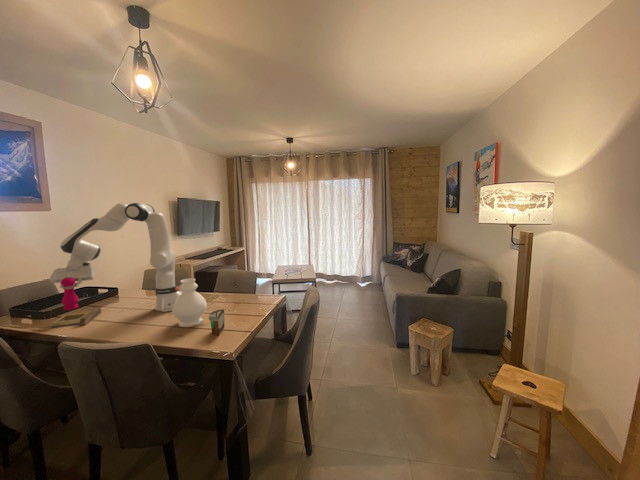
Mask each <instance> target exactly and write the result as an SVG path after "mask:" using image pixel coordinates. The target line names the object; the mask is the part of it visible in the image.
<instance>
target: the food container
mask: <svg viewBox="0 0 640 480" xmlns="http://www.w3.org/2000/svg"><path fill="white" fill-rule="evenodd" d="M208 320H209V323H210V326H211V333H212V335H214V336H220V335H221V333H222V332H223V331H224V329H225V309H224V308H222V309H216V310H213V311H212V312H210V313H209V314H208Z"/></svg>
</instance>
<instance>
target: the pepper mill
mask: <svg viewBox="0 0 640 480" xmlns="http://www.w3.org/2000/svg"><path fill="white" fill-rule="evenodd" d="M65 277H66V278H64V279H63V280H62V281H61V284H60V285H63V288H62V290H64V293H63V297H62V299H61V304H62V305H63V310H64V311H70V310H74V309H77V308H79V304H78V302H79V300H80V299H79V296H78V295H77V294H76V292H75V286H74V285H75V283H76V281H75V279H74V278H71V277H70V276H69V275H66V276H65Z"/></svg>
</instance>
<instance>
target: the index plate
mask: <svg viewBox="0 0 640 480" xmlns="http://www.w3.org/2000/svg"><path fill="white" fill-rule="evenodd" d="M89 312H90V311H88V312H82V313H81V312H80V313H79V312H78V313H72V314H65V315H63V316H61V317H60V318H57V319H56V320H55V321H53V322H52V323H51V324H52V325H51V328H58V327H64V326H74V325H80V318H82V317H83V316H85V315H86V314H87V313H89Z"/></svg>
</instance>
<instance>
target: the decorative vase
mask: <svg viewBox="0 0 640 480" xmlns="http://www.w3.org/2000/svg"><path fill="white" fill-rule="evenodd" d="M195 281H196V278H193V277H192V278H184V279H181V280H180V283H181V284H180V285H179V291H181V292H183V293H182V294H181V295H180V296H179V297H178V298H177V299H176V301H175V302H174V304H173V306H172V311H171V312H172V315H174V317H175V318H176V319H178V320H179V322H178V326H179V327H181V328H189V327H190V328H191V327H193V326H194V327H195V326H197V325H200V324H202V323H203V317H202V316H203V315H204V313H205V311H206V310H207V307H208V303H207V301H206V298H205V297H203V296H202V295H201V294H200V293H198V291H196V290H197V289H198V287H199V285H198V284H197V283H196V282H195Z"/></svg>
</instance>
